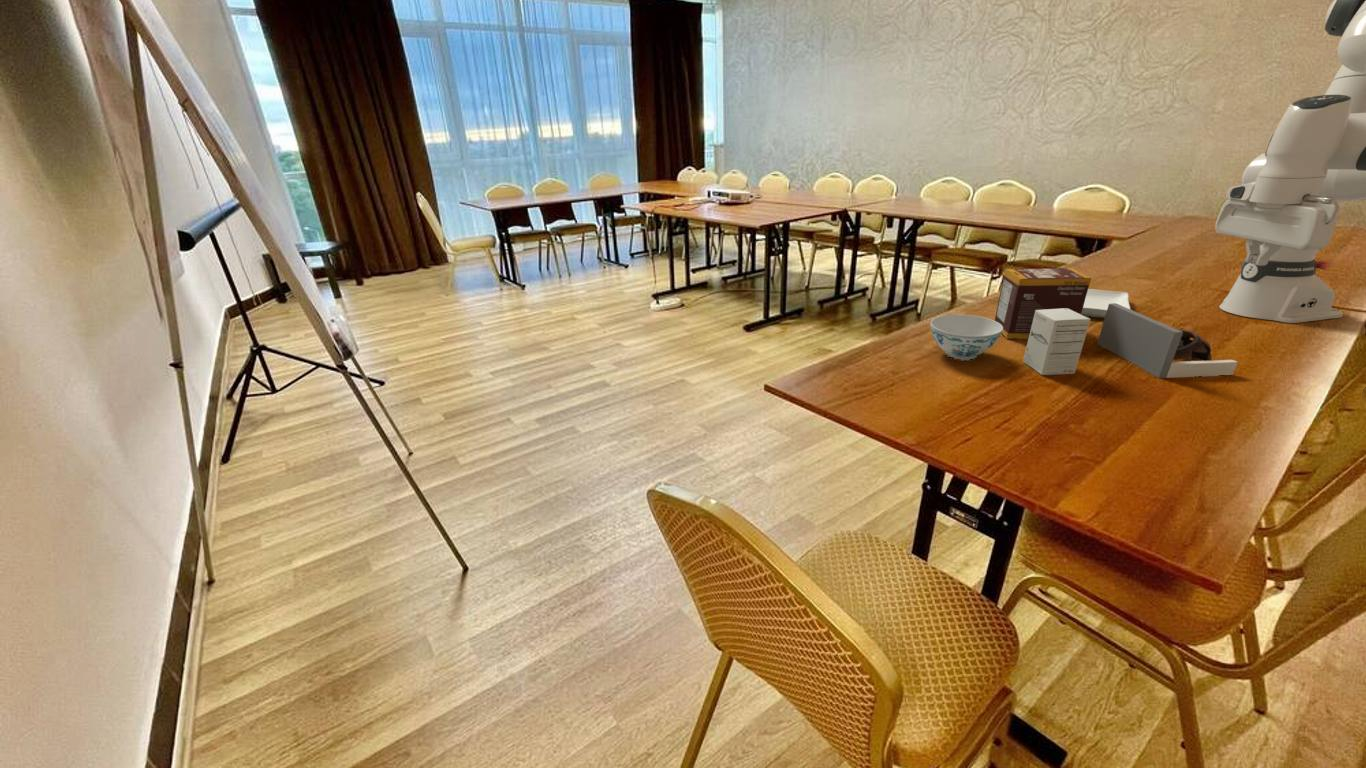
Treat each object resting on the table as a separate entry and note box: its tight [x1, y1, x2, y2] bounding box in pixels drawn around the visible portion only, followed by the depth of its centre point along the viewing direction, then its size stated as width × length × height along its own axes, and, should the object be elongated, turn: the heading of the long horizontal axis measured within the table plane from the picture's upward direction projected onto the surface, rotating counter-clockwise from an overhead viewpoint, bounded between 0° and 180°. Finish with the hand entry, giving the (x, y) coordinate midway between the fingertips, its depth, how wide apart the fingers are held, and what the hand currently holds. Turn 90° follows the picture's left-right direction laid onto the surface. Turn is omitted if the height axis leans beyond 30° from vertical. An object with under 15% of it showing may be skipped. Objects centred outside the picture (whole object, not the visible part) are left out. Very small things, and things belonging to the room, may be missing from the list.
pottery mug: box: [1173, 327, 1213, 361], centre depth 113 cm, size 12×10×8 cm
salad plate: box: [1081, 288, 1132, 319], centre depth 147 cm, size 21×21×3 cm
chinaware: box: [930, 314, 1003, 361], centre depth 122 cm, size 15×15×8 cm
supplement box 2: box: [1022, 308, 1092, 376], centre depth 112 cm, size 7×7×13 cm
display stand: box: [1096, 303, 1238, 379], centre depth 113 cm, size 14×19×10 cm
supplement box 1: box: [994, 267, 1092, 340], centre depth 130 cm, size 10×15×16 cm
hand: (1255, 263), depth 105 cm, fingers closed
